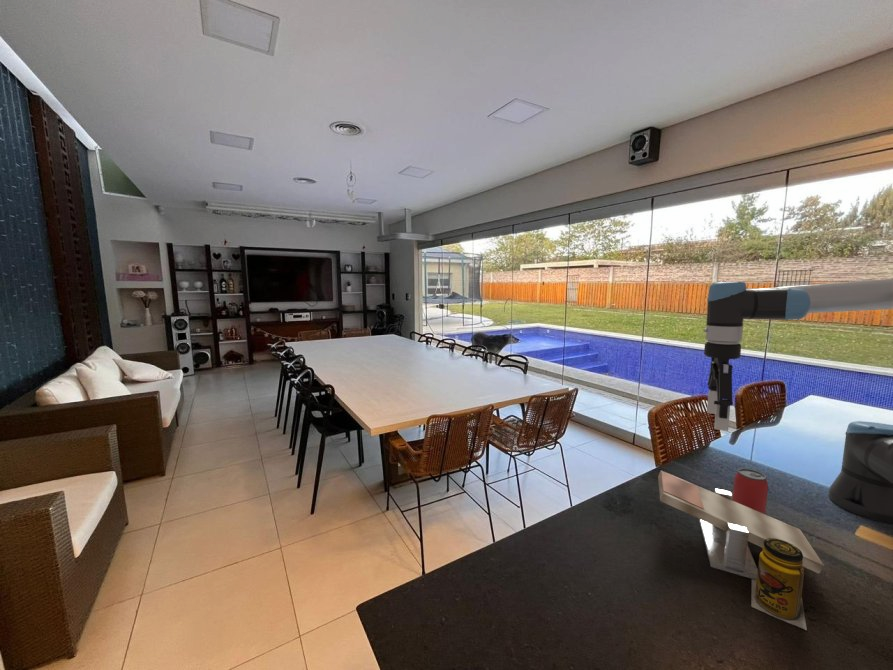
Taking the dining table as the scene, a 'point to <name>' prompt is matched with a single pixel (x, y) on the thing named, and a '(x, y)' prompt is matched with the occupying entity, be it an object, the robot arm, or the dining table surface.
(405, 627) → the dining table surface
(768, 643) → the dining table surface
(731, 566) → the pivot stand
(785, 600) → the condiment
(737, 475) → the beer can
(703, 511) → the balance beam
